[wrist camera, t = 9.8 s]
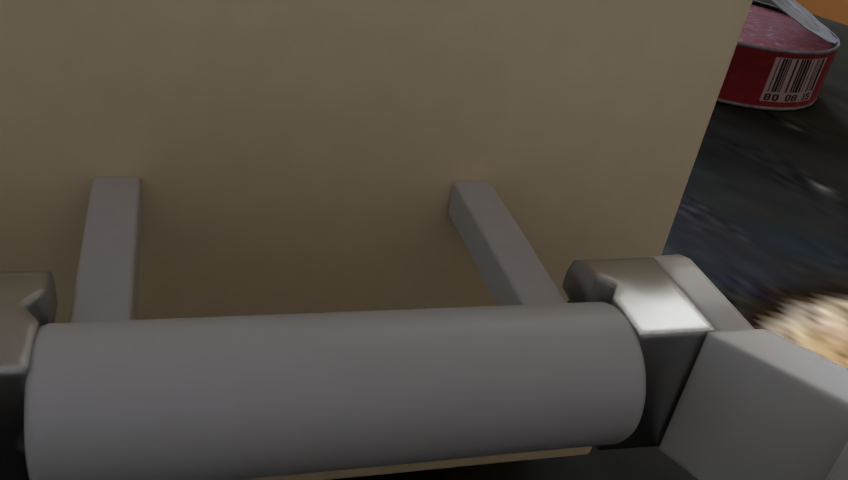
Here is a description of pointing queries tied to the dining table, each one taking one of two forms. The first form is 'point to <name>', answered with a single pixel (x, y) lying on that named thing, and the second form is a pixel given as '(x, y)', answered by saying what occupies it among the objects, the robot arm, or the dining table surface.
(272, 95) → the beige drawer
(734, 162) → the dining table surface
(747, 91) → the canned food
